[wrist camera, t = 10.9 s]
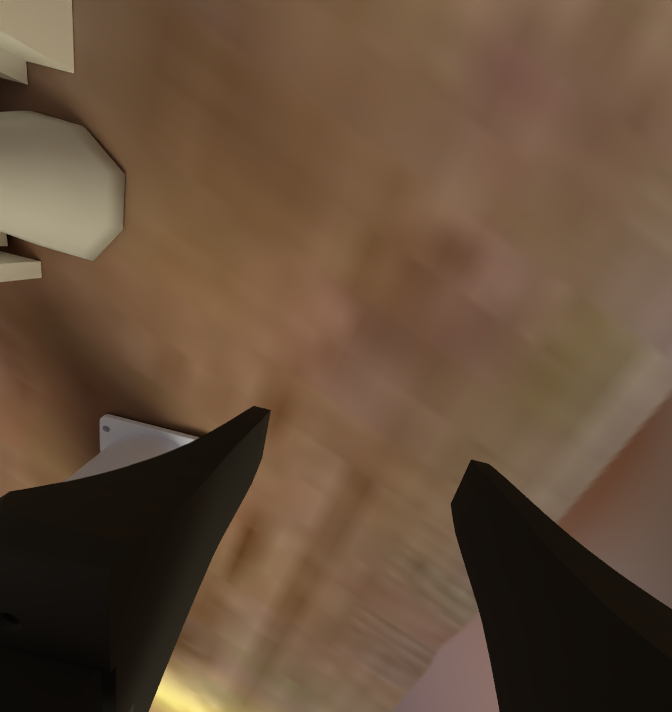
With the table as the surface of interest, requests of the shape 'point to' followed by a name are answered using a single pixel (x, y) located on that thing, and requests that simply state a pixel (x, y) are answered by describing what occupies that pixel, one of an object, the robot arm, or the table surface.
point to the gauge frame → (8, 61)
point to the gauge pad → (3, 239)
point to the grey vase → (58, 185)
